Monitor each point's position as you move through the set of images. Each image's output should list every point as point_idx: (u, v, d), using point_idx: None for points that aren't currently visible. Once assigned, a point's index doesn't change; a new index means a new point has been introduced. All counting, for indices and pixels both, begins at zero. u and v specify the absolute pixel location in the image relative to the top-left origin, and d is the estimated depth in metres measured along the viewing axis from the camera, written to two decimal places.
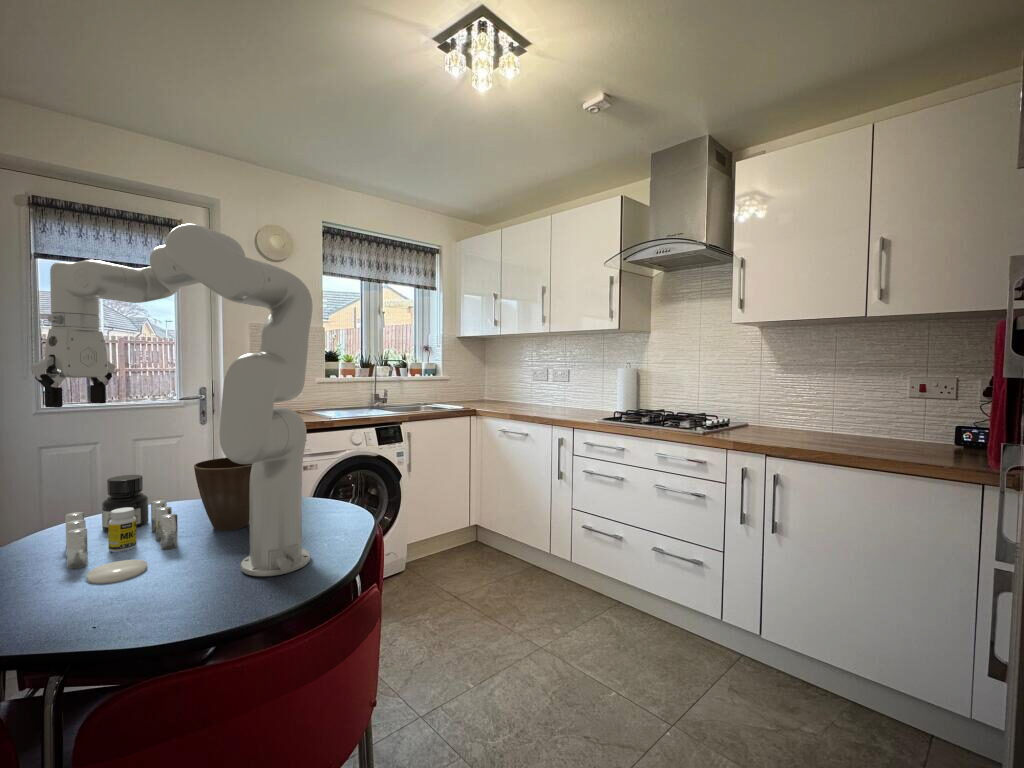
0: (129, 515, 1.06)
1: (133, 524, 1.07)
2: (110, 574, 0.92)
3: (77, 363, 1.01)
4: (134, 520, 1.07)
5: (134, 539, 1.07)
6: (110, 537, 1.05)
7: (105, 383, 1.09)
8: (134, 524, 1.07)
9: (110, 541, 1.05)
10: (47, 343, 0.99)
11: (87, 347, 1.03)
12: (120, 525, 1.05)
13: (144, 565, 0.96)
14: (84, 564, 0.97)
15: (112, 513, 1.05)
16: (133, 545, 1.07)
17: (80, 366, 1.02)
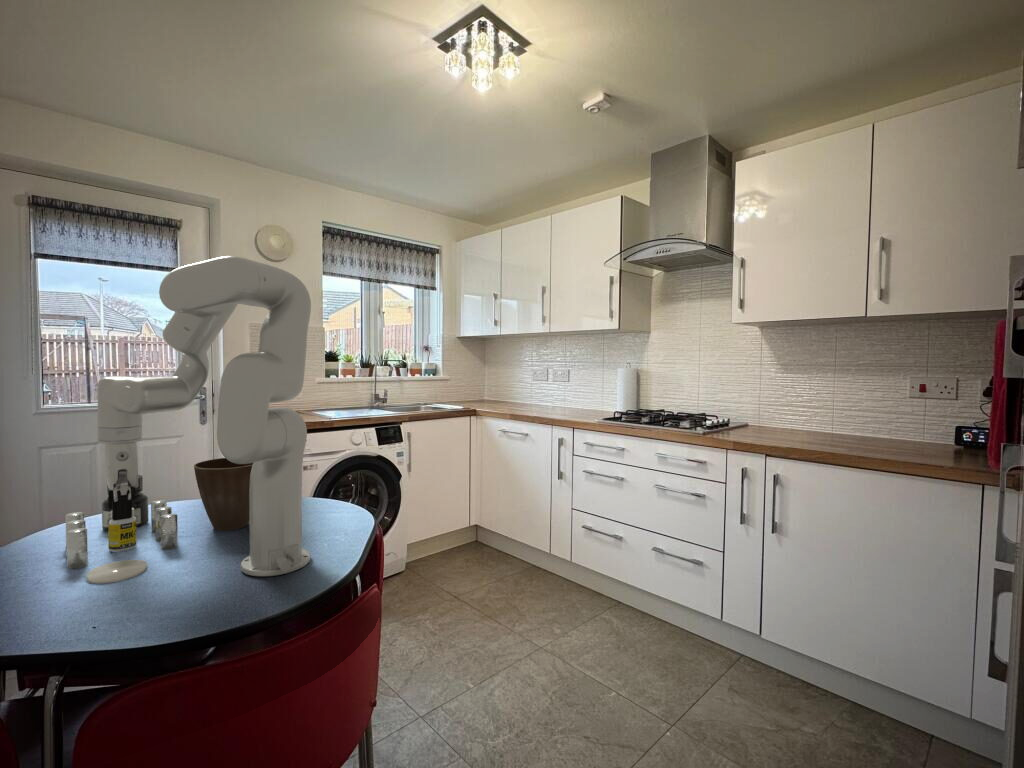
0: None
1: (133, 524, 1.07)
2: (110, 574, 0.92)
3: None
4: (134, 520, 1.07)
5: (134, 539, 1.07)
6: (110, 537, 1.05)
7: None
8: (134, 524, 1.07)
9: (110, 541, 1.05)
10: (114, 459, 1.02)
11: None
12: (120, 525, 1.05)
13: (144, 565, 0.96)
14: (84, 564, 0.97)
15: None
16: (133, 545, 1.07)
17: None
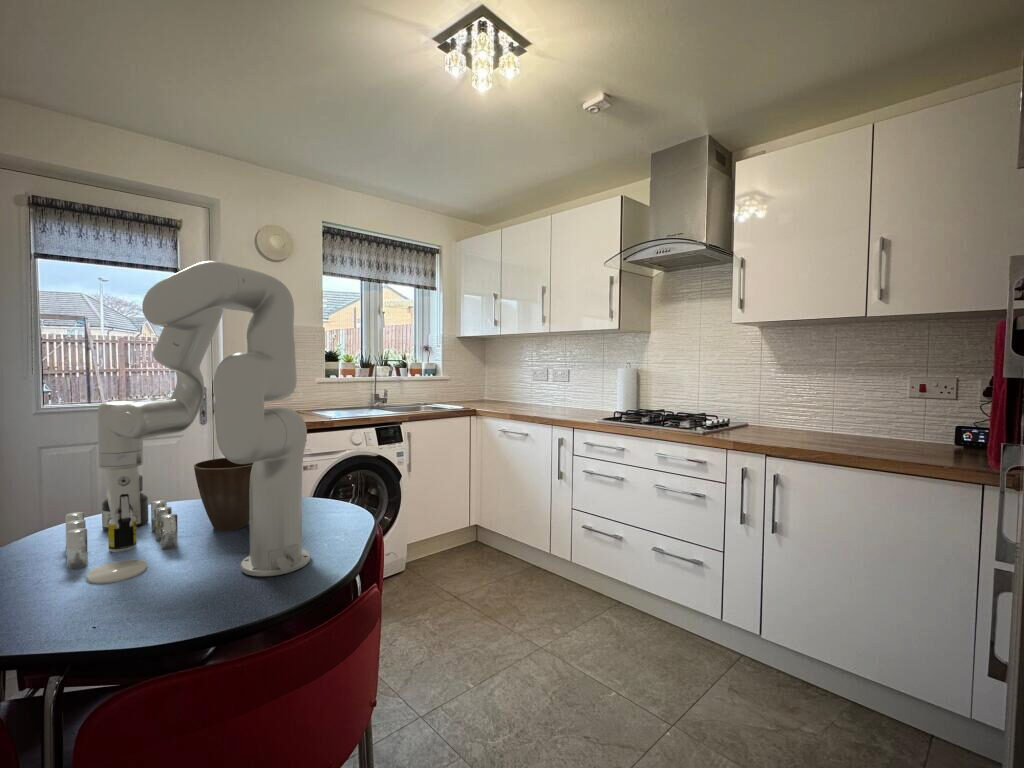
0: None
1: (133, 524, 1.07)
2: (110, 574, 0.92)
3: None
4: (134, 520, 1.07)
5: (134, 539, 1.07)
6: (110, 537, 1.05)
7: None
8: (134, 524, 1.07)
9: (110, 541, 1.05)
10: (116, 484, 1.02)
11: None
12: None
13: (144, 565, 0.96)
14: (84, 564, 0.97)
15: None
16: (133, 545, 1.07)
17: None
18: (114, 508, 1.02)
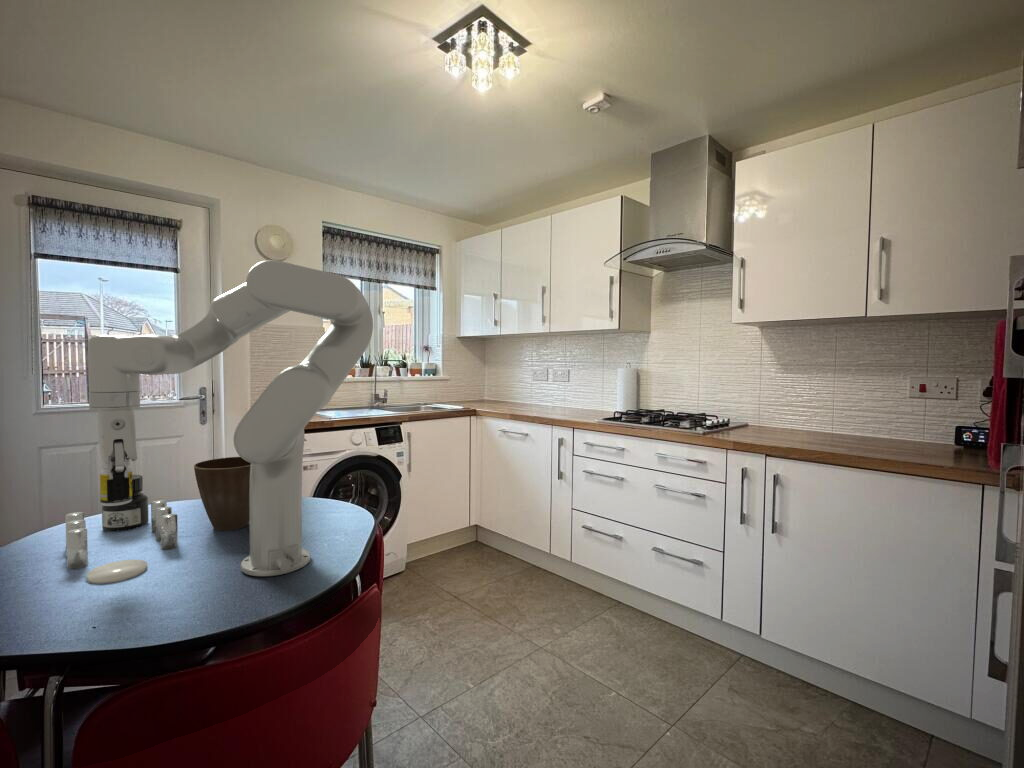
0: None
1: (128, 475, 0.94)
2: (110, 574, 0.92)
3: None
4: (129, 471, 0.94)
5: (130, 493, 0.94)
6: (102, 489, 0.92)
7: None
8: (129, 476, 0.94)
9: (102, 494, 0.92)
10: (108, 427, 0.89)
11: None
12: None
13: (144, 565, 0.96)
14: (84, 564, 0.97)
15: (104, 462, 0.92)
16: (128, 499, 0.94)
17: None
18: (107, 455, 0.89)
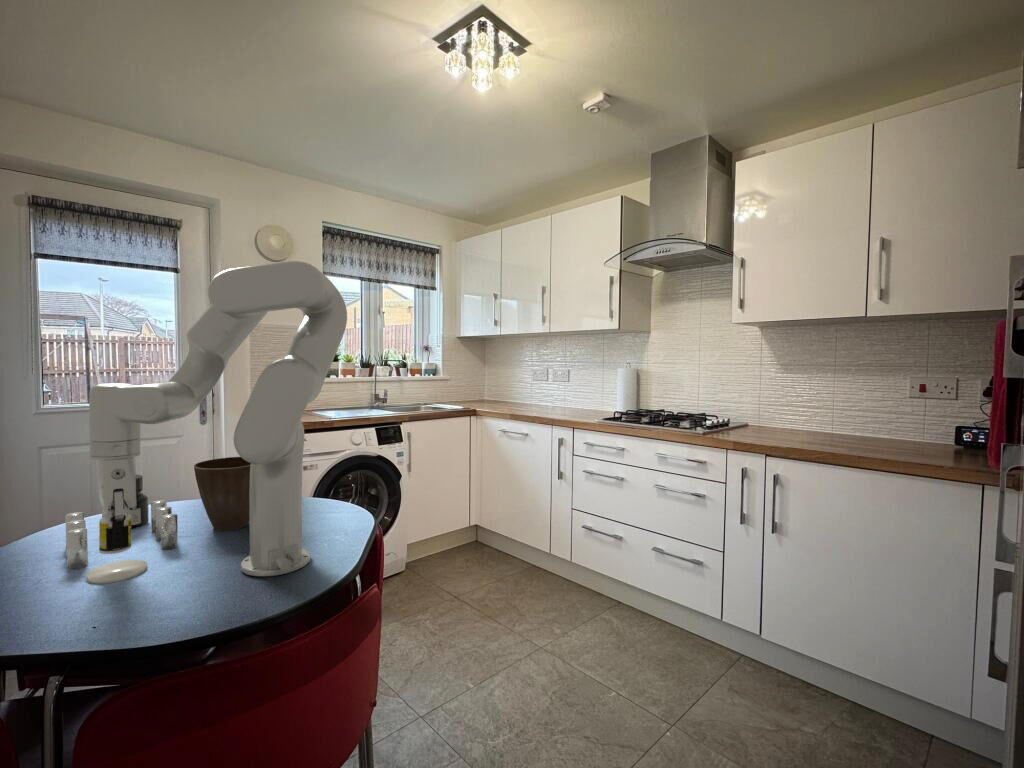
0: None
1: (128, 523, 0.94)
2: (110, 574, 0.92)
3: None
4: (129, 518, 0.95)
5: (128, 540, 0.95)
6: (101, 537, 0.92)
7: None
8: (129, 523, 0.95)
9: (101, 542, 0.92)
10: (109, 477, 0.90)
11: None
12: None
13: (144, 565, 0.96)
14: (84, 564, 0.97)
15: None
16: (127, 547, 0.94)
17: None
18: (106, 504, 0.89)
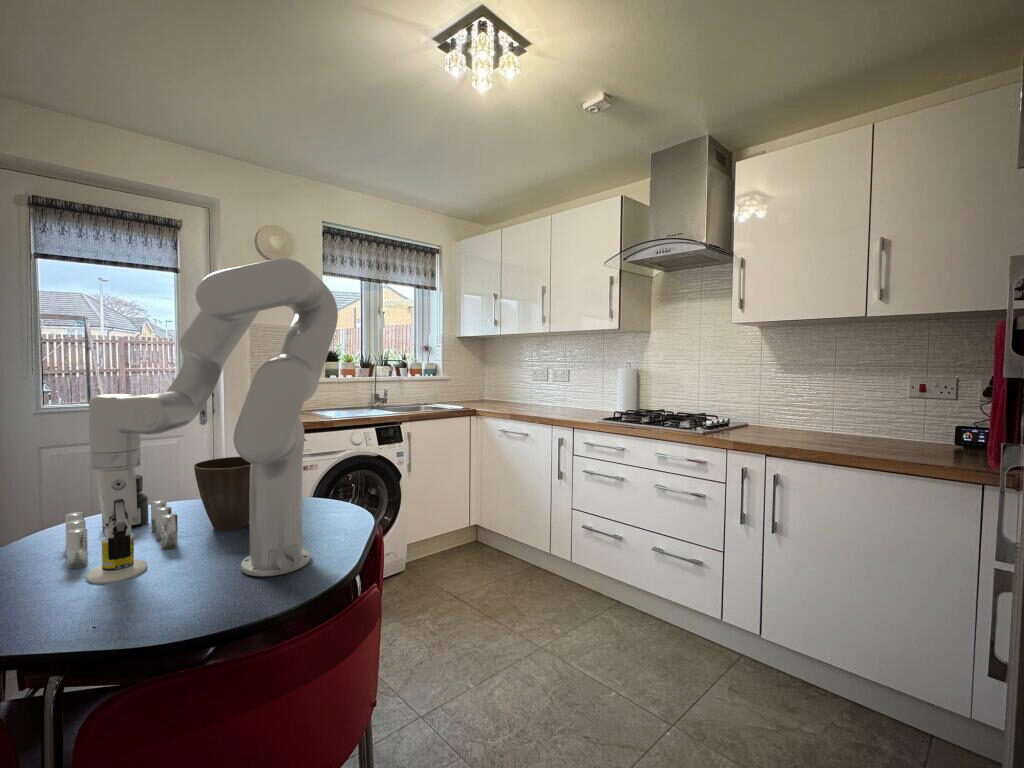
0: None
1: (130, 542, 0.94)
2: (110, 574, 0.92)
3: None
4: (131, 537, 0.95)
5: (131, 559, 0.95)
6: (104, 557, 0.92)
7: None
8: (131, 542, 0.95)
9: (104, 561, 0.92)
10: (109, 488, 0.90)
11: None
12: None
13: (144, 565, 0.96)
14: (84, 564, 0.97)
15: (106, 530, 0.92)
16: (130, 566, 0.94)
17: None
18: (107, 515, 0.89)
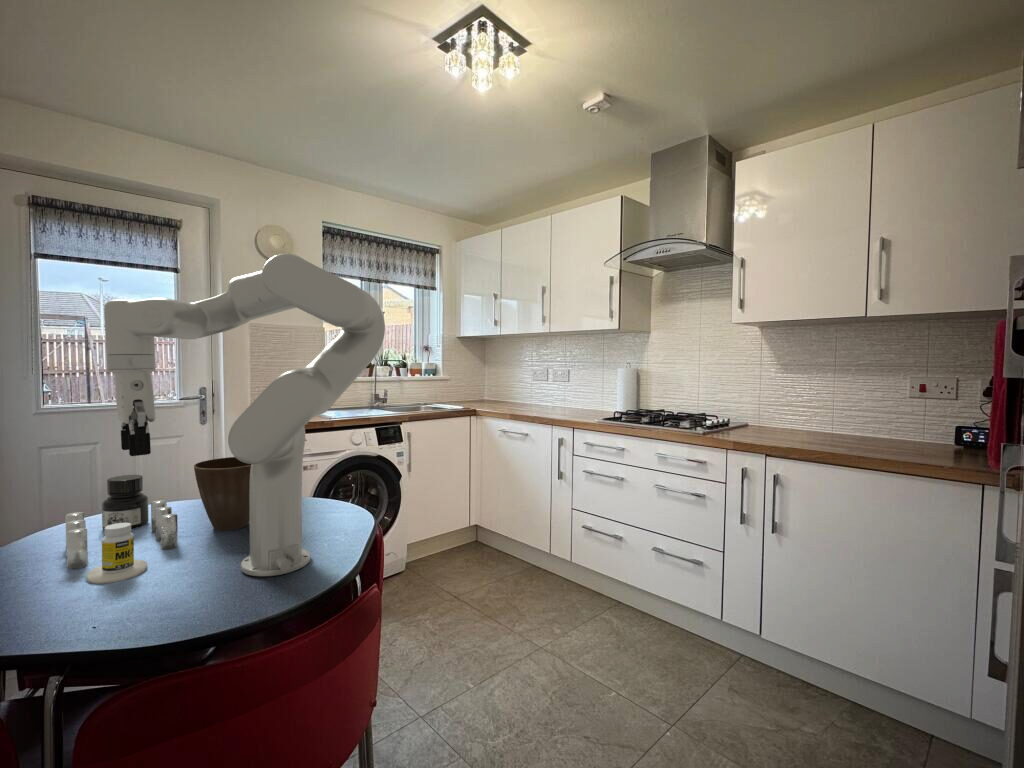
0: (125, 532, 0.94)
1: (130, 542, 0.94)
2: (110, 574, 0.92)
3: None
4: (131, 537, 0.95)
5: (131, 559, 0.95)
6: (104, 557, 0.92)
7: None
8: (131, 542, 0.95)
9: (104, 561, 0.92)
10: (128, 388, 0.92)
11: None
12: (115, 543, 0.92)
13: (144, 565, 0.96)
14: (84, 564, 0.97)
15: (106, 530, 0.92)
16: (130, 565, 0.94)
17: None
18: (127, 414, 0.92)
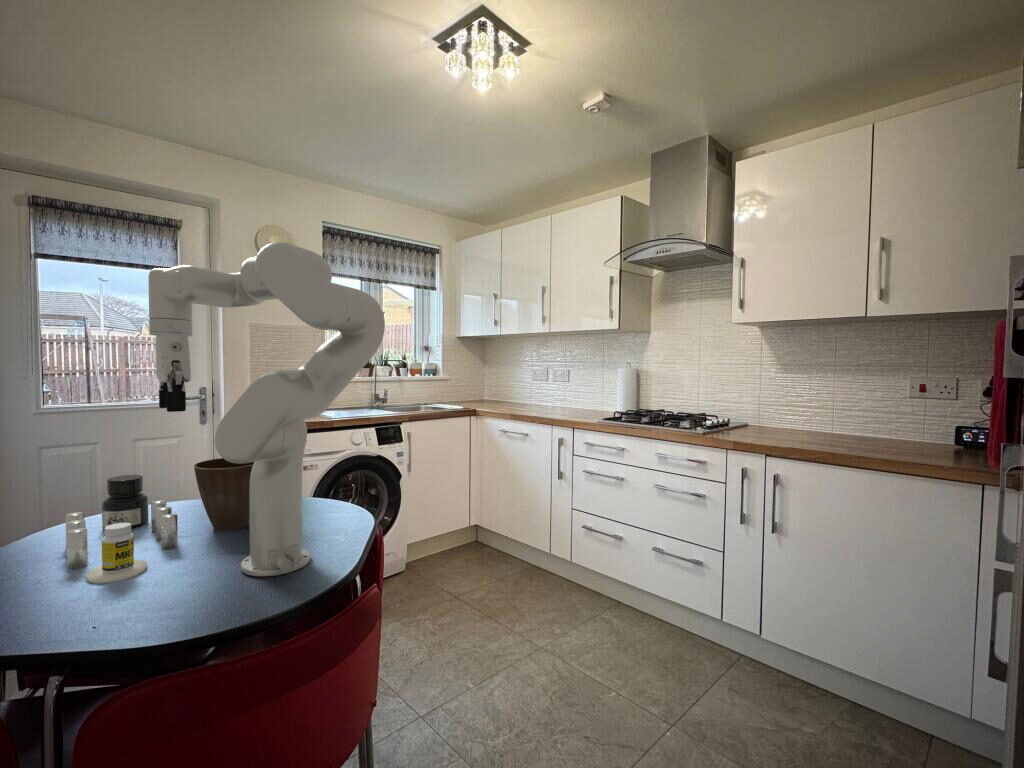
0: (125, 532, 0.94)
1: (130, 542, 0.94)
2: (110, 574, 0.92)
3: None
4: (131, 537, 0.95)
5: (131, 559, 0.95)
6: (104, 557, 0.92)
7: None
8: (131, 542, 0.95)
9: (104, 561, 0.92)
10: (167, 349, 1.00)
11: None
12: (115, 543, 0.92)
13: (144, 565, 0.96)
14: (84, 564, 0.97)
15: (106, 530, 0.92)
16: (130, 566, 0.94)
17: None
18: (166, 373, 1.00)
